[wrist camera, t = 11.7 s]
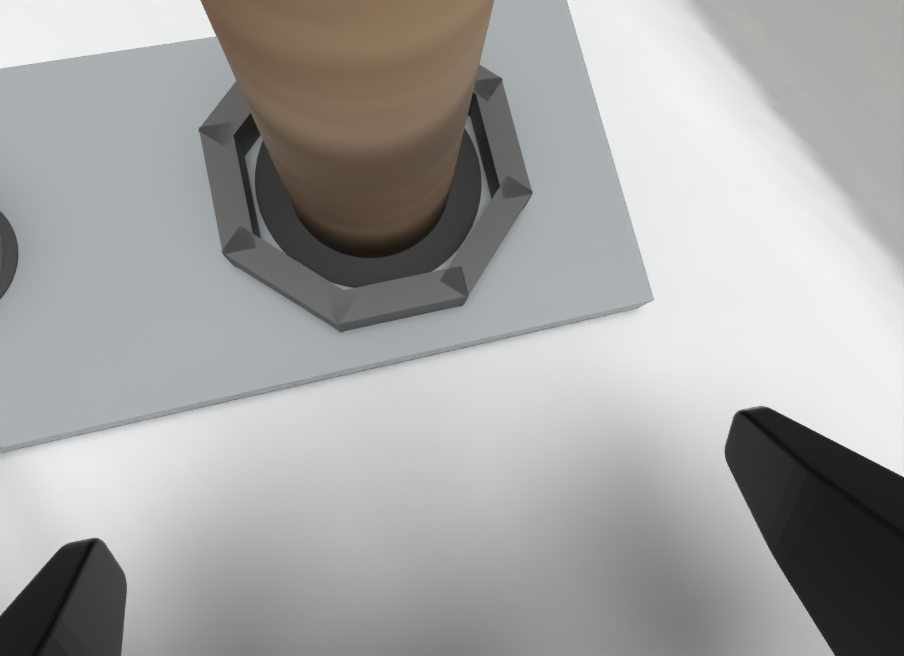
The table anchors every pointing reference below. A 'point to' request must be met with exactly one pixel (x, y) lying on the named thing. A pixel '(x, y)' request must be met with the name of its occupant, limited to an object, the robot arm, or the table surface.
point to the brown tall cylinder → (358, 107)
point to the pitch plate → (278, 234)
